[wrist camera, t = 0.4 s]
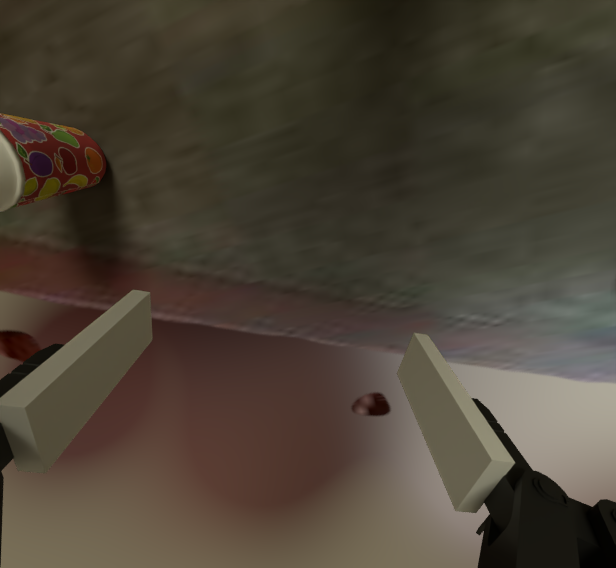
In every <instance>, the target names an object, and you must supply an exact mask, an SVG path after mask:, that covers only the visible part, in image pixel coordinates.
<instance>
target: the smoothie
mask: <svg viewBox="0 0 616 568" xmlns="http://www.w3.org/2000/svg"><path fill="white" fill-rule="evenodd" d="M105 171H106V159H105V156H104V154H103V151H102V150H101V148H100V147H99V146H98V144H97V143H96V142H95V141H93V140H92V139H91V138H90V137H89V136H88V135H86V134H85V133H84V132H82V131H80V130H77V129H75V128H71V127H66V126H61V125H56V124H51V123H46V122H41V121H36V120H31V119H26V118H21V117H16V116H11V115H6V114H1V113H0V212H3V211H6V210H8V209H9V208H13V207H18V206H21V205H25V204H29V203H33V202H36V201H40V200H44V199H48V198H51V197H55V196H59V195H63V194H67V193H70V192H74V191H78V190H82V189H85V188H89V187H93V186H95V185H96V184H98V183H99V182H100V181H101V179H102V177H103V176H104V174H105Z"/></svg>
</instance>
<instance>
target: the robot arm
mask: <svg viewBox="0 0 616 568" xmlns="http://www.w3.org/2000/svg"><path fill="white" fill-rule="evenodd" d="M151 341H152V323H151V302H150V292H145V291H139V290H132V291H131V292H130V293H128V294H127V295H126V296H125V297H123V298H122V299H121V300H120V301H119V302H117V303H116V304H115V305H114V306H112V307H111V308H110V309H109V310H108V311H106V312H105V313H104V314H103V315H101V316H100V317H99V318H98V319H96V320H95V321H94V322H93V323H92V324H90V325H89V326H88V327H87V328H85V329H84V330H83V331H82V332H80V333H79V334H78V335H77V336H76V337H74V338H73V339H72V340H71V341H69V342H68V343H67V344H66V345H62V344H53V345H51V346H49V347H47V348H45V349H42V350H40V351H38V352H37V353H35V354H34V355H33V356H31V357H30V358H29V359H27V360H26V361H25V362H23V365H19V366H18V367H17V368H15V369H14V370H13V371H12V372H11V374H7V375H6V376H5V377H3V378H2V379H1V380H0V565H1V535H2V506H3V475H2V472H1V471H2V469H3V468H4V467H5V466H6V465H7V464H8V463H9V462H10V461H11V460H12V459H14V462H15V464H16V467H17V470H18V471H26V472H37V473H46V472H47V471H48V470H49V469H50V467H51V466H52V464H53V463H54V462H55V461H56V460H57V458H58V457H59V456H60V455H61V453H62V452H63V451H64V450H65V448H66V447H67V446H68V445H69V443H70V442H71V441H72V440H73V438H74V437H75V436H76V435H77V433H78V432H79V431H80V430H81V428H82V427H83V426H84V425H85V423H86V422H87V421H88V420H89V418H90V417H91V416H92V415H93V413H94V412H95V411H96V410H97V408H98V407H99V406H100V405H101V403H102V402H103V401H104V399H105V398H106V397H107V396H108V395H109V393H110V392H111V391H112V389H113V388H114V387H115V386H116V385H117V383H118V382H119V381H120V379H121V378H122V377H123V376H124V374H125V373H126V372H127V371H128V370H129V368H130V367H131V366H132V365H133V363H134V362H135V361H136V359H137V358H138V357H139V356H140V355H141V353H142V352H143V351H144V350H145V348H146V347H147V346H148V345H149V343H150V342H151ZM397 375H398V377H399V380H400V382H401V384H402V387H403V389H404V391H405V394H406V396H407V398H408V401H409V403H410V405H411V408H412V410H413V412H414V415H415V417H416V419H417V422H418V424H419V427H420V429H421V431H422V434H423V436H424V438H425V441H426V443H427V445H428V448H429V450H430V452H431V455H432V457H433V459H434V462H435V464H436V466H437V469H438V471H439V474H440V476H441V478H442V481H443V483H444V485H445V488H446V490H447V492H448V495H449V497H450V499H451V502H452V504H453V506H454V509H455V511H461V512H471V513H476V512H477V511H478V510H479V509H480V507H481V506H482V505H483V503H485V505H486V507H487V509H488V511H489V513H490V515H489V516H488V517H487V518H486V520H485V521H484V522H483V523H482V524H481V526H480V527H479V528H478V530H477V532H476V533H477V534H478V535H480V534H481V533H482V532H483V531H484V534H483V540H482V546H481V552H480V557H479V563H478V568H616V502H613V501H610V500H607V499H606V500H600V501H599V502H598V503H597V504H596V505H594V506H593V507H591V506H589V505H586V504H584V503H581V502H579V501H576V500H574V499H571V498H569V497H568V496H567V494H566V493H565V492H564V491H563V490H562V489H561V488H560V487H559V486H558V484H556V483H555V482H554V481H553V480H551V479H550V478H548V477H547V476H545V475H543V474H542V473H539V472H537V471H533V470H532V469H531V467H530V466H529V464H528V463H527V462H526V460H525V459H524V458H523V456H522V455H521V453H520V452H519V451H518V449H517V448H516V446H515V445H514V444H513V442H512V441H511V439H510V438H509V437H508V435H507V434H506V433H504V430H503V429H502V427H501V426H500V424H498V423H497V420H496V419H495V417H494V416H493V415H492V413H491V412H490V410H489V409H487V407H485V406H484V405H483V404H482V403H481V402H480V401H479V400H478V399H474V398H471V397H470V396H469V395H468V393H467V392H466V390H465V389H464V387H463V386H462V384H461V383H460V381H459V380H458V378H457V377H456V375H455V374H454V373H453V371H452V370H451V368H450V367H449V365H448V364H447V362H446V361H445V359H444V358H443V356H442V355H441V353H440V352H439V351H438V349H437V348H436V346H435V345H434V343H433V342H432V340H431V339H430V337H429V336H428V335H425V334H418V333H414V334H413V336H412V338H411V341H410V343H409V346H408V348H407V350H406V353H405V355H404V358H403V360H402V363H401V365H400V367H399V370H398V372H397Z"/></svg>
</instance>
